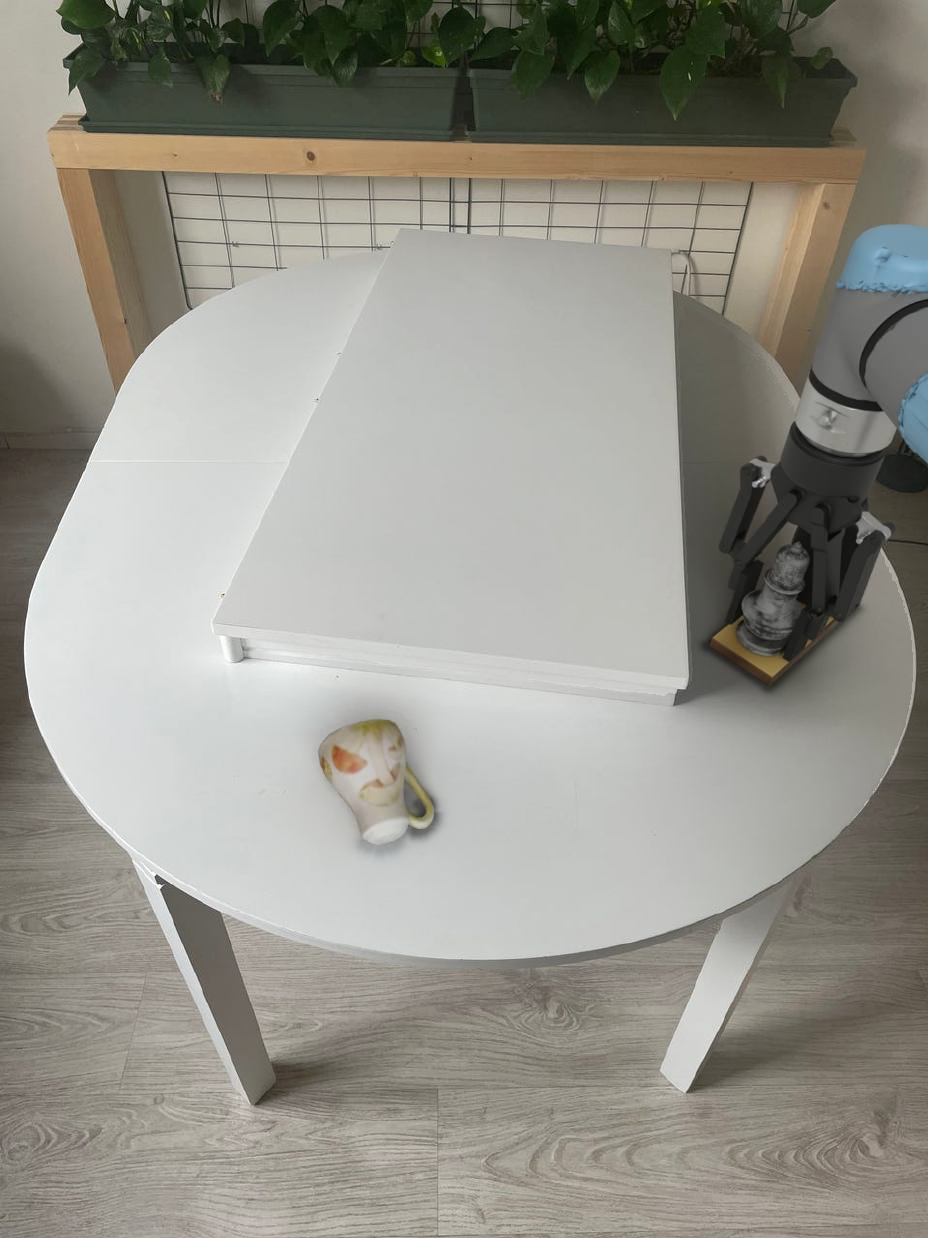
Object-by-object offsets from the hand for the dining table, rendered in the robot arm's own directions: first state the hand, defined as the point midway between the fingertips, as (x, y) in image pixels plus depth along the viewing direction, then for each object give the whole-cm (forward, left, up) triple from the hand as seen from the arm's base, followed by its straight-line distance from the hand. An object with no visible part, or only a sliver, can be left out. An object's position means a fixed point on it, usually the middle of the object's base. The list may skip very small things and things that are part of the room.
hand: (764, 634), depth 89 cm
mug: (+11, +39, -2) cm, 41 cm away
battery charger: (0, -9, -1) cm, 9 cm away
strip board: (0, -4, -2) cm, 5 cm away
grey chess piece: (0, 0, 0) cm, 0 cm away
